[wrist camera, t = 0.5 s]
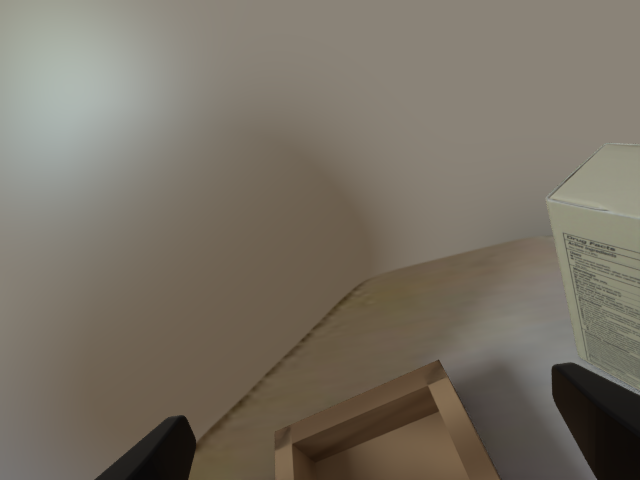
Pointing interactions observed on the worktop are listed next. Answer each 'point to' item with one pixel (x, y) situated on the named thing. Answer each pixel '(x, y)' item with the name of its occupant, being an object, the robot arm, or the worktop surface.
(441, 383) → the u rest
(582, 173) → the skincare box
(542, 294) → the worktop surface
